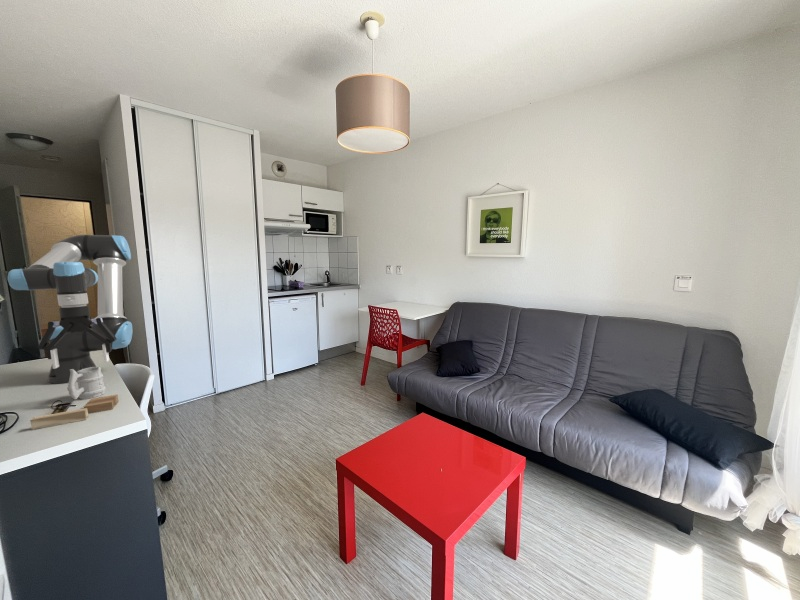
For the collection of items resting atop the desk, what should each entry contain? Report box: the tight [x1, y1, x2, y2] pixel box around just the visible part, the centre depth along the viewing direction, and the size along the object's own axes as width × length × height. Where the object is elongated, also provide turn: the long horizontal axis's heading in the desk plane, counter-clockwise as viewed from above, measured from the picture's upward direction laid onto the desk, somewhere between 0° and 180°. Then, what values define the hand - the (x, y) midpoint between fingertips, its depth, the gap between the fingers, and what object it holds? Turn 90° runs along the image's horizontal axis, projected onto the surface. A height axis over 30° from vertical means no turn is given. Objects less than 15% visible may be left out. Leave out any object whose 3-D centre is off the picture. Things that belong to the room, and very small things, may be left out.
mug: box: [67, 366, 107, 400], centre depth 118 cm, size 8×12×12 cm, turn 0°
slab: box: [83, 394, 119, 415], centre depth 110 cm, size 7×7×3 cm
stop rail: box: [29, 407, 89, 430], centre depth 99 cm, size 2×12×3 cm, turn 118°
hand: (82, 364), depth 117 cm, fingers open, 13 cm apart
